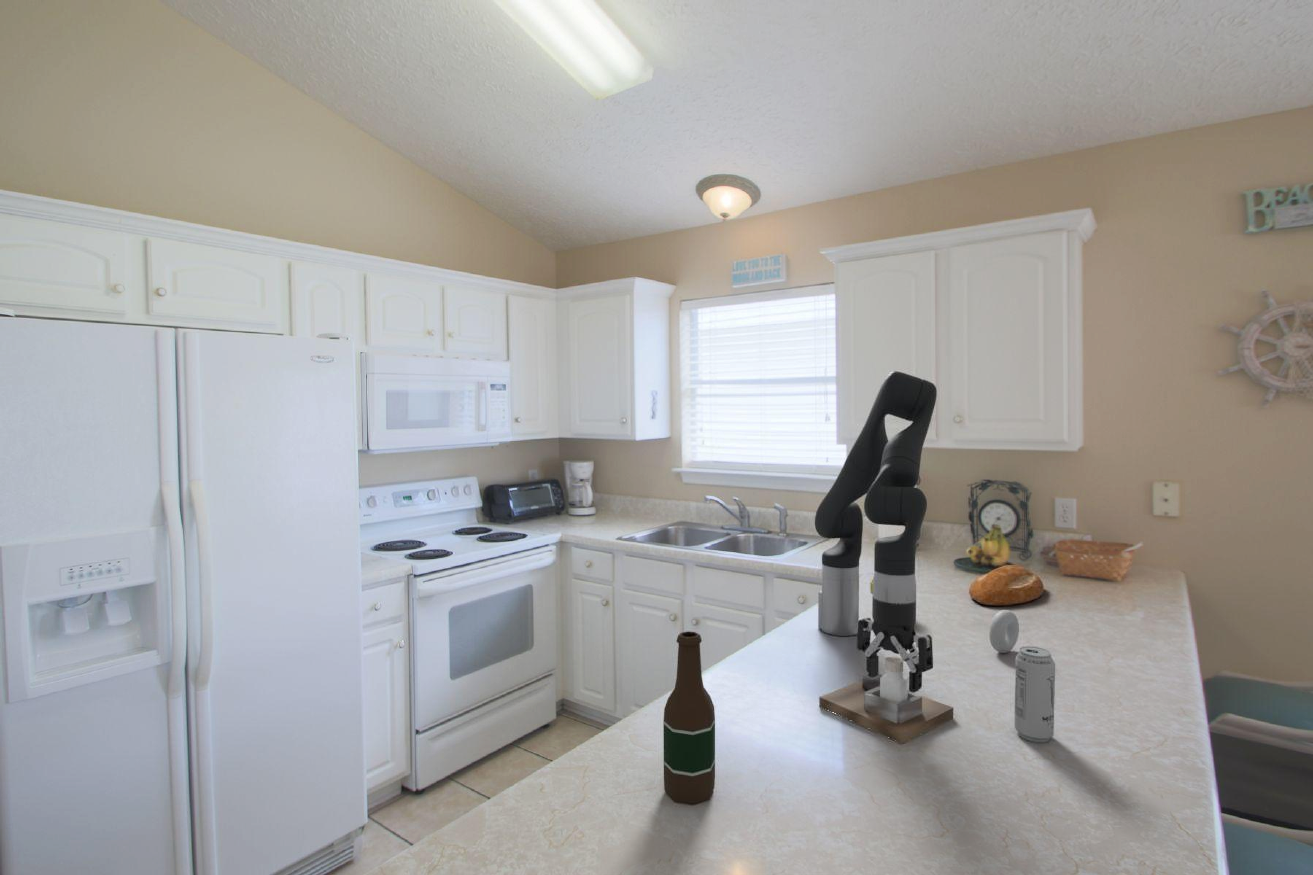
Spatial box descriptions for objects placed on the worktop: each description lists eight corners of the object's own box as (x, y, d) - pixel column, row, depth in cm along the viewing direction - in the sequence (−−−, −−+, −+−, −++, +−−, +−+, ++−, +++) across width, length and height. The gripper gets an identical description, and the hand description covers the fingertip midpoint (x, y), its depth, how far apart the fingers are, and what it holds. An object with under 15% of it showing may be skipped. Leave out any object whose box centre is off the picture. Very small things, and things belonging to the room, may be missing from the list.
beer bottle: (661, 778, 106) (660, 626, 105) (710, 775, 107) (710, 624, 105) (666, 807, 98) (665, 644, 97) (719, 804, 99) (719, 642, 98)
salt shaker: (887, 703, 127) (887, 654, 127) (908, 710, 125) (909, 659, 124) (878, 711, 124) (879, 660, 124) (900, 717, 122) (900, 665, 121)
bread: (1058, 590, 212) (1059, 562, 212) (1014, 614, 188) (1015, 582, 188) (999, 580, 225) (1000, 553, 225) (951, 601, 201) (952, 571, 201)
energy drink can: (1052, 747, 115) (1054, 660, 114) (1012, 738, 118) (1014, 653, 117) (1054, 732, 120) (1055, 649, 119) (1015, 724, 123) (1017, 642, 122)
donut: (1001, 659, 154) (1001, 616, 154) (985, 655, 157) (986, 612, 157) (1021, 649, 161) (1022, 608, 160) (1006, 645, 163) (1007, 604, 163)
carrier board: (819, 706, 131) (819, 681, 130) (870, 686, 140) (870, 662, 140) (902, 744, 116) (902, 715, 116) (953, 718, 126) (953, 691, 125)
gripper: (942, 601, 120) (940, 691, 121) (873, 584, 131) (872, 666, 132) (917, 608, 115) (916, 702, 116) (848, 590, 127) (848, 675, 128)
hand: (893, 683), depth 124 cm, fingers open, 8 cm apart
